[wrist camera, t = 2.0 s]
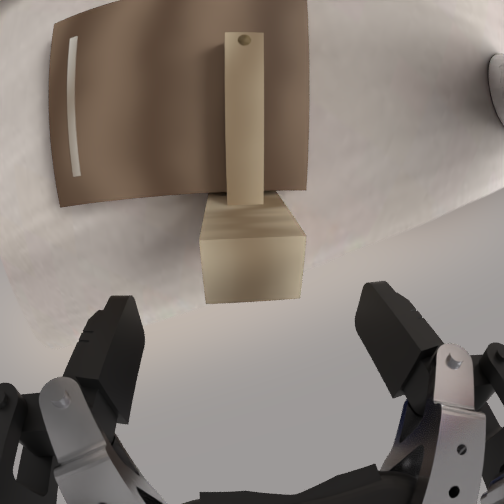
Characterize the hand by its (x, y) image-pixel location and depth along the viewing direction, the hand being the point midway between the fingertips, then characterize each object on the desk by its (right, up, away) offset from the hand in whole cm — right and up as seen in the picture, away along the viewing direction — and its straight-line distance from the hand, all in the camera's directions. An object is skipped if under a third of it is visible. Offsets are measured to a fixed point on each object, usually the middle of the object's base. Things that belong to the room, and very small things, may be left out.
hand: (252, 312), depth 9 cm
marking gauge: (-1, +9, +8) cm, 12 cm away
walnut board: (-5, +13, +6) cm, 15 cm away
